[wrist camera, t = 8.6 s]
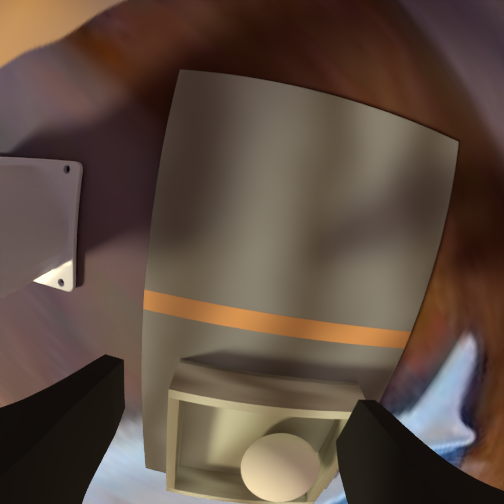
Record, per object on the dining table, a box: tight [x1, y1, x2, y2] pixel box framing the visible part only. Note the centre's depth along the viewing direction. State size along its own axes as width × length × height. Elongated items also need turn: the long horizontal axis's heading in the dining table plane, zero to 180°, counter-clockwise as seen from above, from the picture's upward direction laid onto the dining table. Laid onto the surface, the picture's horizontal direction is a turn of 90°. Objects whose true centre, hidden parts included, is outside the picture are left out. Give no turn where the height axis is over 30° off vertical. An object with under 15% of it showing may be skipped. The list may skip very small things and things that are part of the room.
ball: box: [241, 433, 319, 502], centre depth 16 cm, size 5×5×5 cm
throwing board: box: [142, 69, 459, 504], centre depth 16 cm, size 16×29×4 cm, turn 169°
